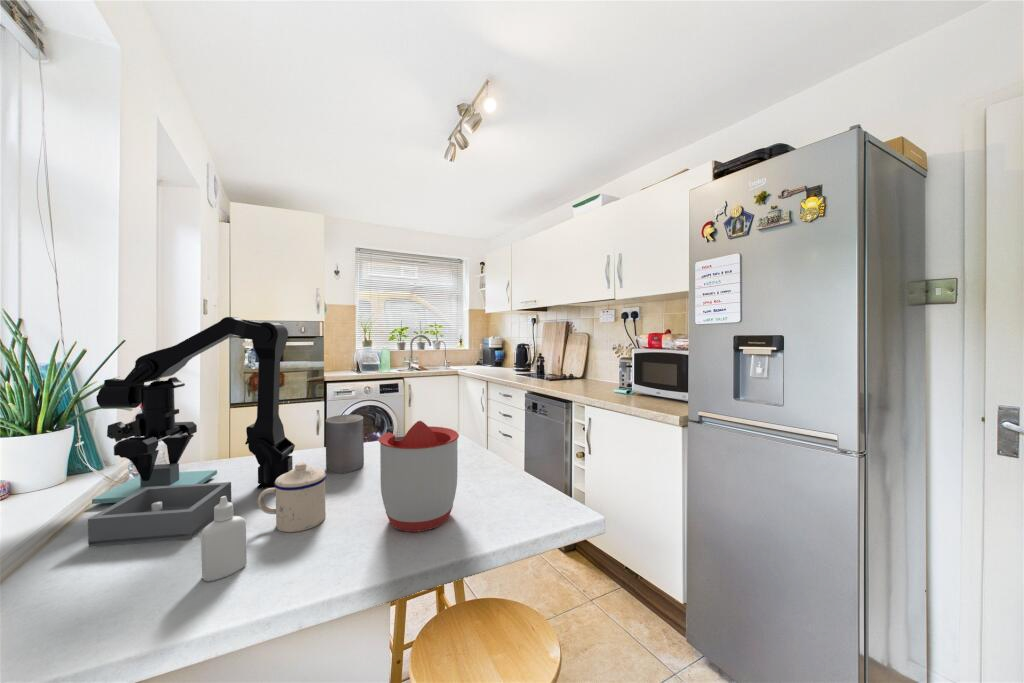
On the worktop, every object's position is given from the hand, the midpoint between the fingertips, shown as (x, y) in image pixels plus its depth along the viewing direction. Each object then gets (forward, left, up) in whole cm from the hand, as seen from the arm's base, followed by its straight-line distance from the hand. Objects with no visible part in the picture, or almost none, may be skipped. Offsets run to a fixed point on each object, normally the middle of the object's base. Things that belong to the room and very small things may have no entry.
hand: (160, 473), depth 92 cm
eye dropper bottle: (-31, +37, -4) cm, 48 cm away
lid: (0, 0, -5) cm, 5 cm away
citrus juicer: (-60, +24, -4) cm, 65 cm away
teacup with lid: (-36, +22, -4) cm, 42 cm away
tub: (-12, +18, -4) cm, 22 cm away
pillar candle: (-39, -9, -4) cm, 40 cm away
